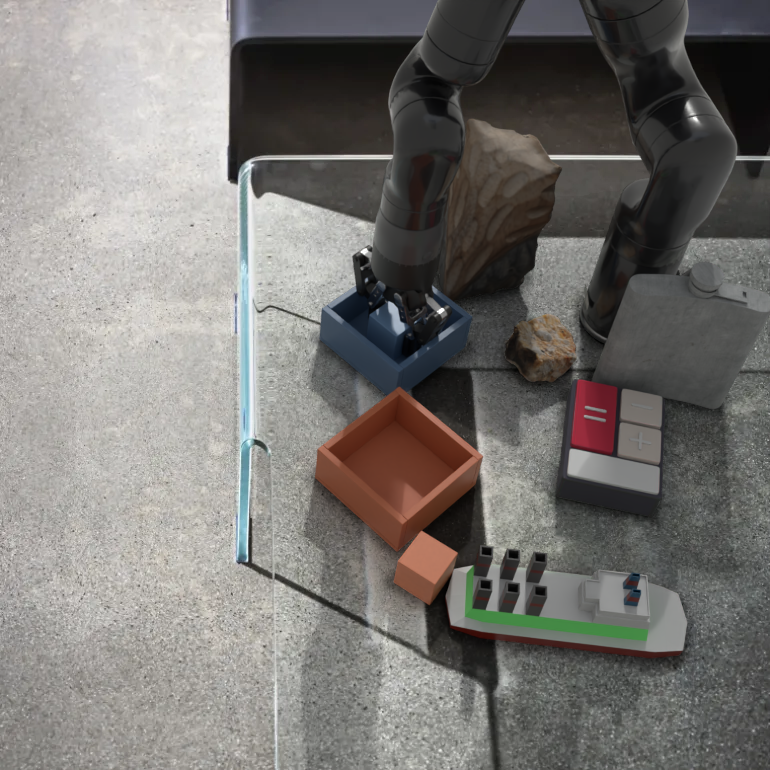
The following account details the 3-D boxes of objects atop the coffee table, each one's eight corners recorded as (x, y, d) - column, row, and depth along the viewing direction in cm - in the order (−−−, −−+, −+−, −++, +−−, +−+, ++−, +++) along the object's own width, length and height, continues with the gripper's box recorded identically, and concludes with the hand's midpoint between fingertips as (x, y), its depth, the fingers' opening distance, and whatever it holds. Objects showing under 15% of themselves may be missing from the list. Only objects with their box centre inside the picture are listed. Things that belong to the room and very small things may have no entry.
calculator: (667, 392, 134) (664, 495, 124) (657, 416, 137) (653, 518, 127) (574, 373, 135) (563, 474, 125) (566, 397, 138) (555, 497, 128)
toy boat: (446, 565, 122) (457, 526, 115) (681, 593, 122) (704, 556, 116) (442, 633, 117) (453, 597, 111) (687, 662, 117) (711, 627, 111)
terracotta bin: (394, 415, 133) (399, 386, 129) (475, 484, 128) (483, 456, 124) (314, 477, 127) (317, 448, 122) (397, 552, 122) (402, 524, 118)
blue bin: (391, 288, 145) (396, 257, 141) (466, 346, 140) (473, 316, 136) (319, 339, 139) (321, 308, 135) (394, 402, 134) (398, 372, 130)
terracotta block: (416, 551, 122) (421, 530, 119) (452, 574, 121) (458, 552, 118) (393, 582, 120) (397, 561, 116) (429, 605, 119) (435, 584, 115)
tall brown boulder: (426, 231, 152) (446, 110, 136) (519, 230, 154) (550, 109, 138) (440, 304, 144) (464, 184, 129) (538, 301, 146) (573, 182, 130)
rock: (541, 399, 137) (600, 350, 140) (535, 366, 132) (596, 316, 135) (491, 364, 142) (549, 318, 145) (484, 331, 138) (544, 284, 141)
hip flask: (591, 392, 138) (635, 277, 122) (591, 366, 140) (634, 250, 125) (723, 410, 138) (784, 298, 122) (720, 384, 140) (780, 270, 125)
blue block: (391, 320, 141) (395, 295, 138) (418, 342, 139) (423, 317, 136) (365, 339, 139) (369, 314, 135) (392, 361, 137) (396, 336, 134)
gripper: (480, 258, 125) (457, 357, 138) (385, 187, 130) (372, 290, 143) (433, 292, 121) (414, 390, 134) (337, 218, 126) (329, 320, 140)
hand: (393, 338), depth 139 cm, fingers open, 5 cm apart
